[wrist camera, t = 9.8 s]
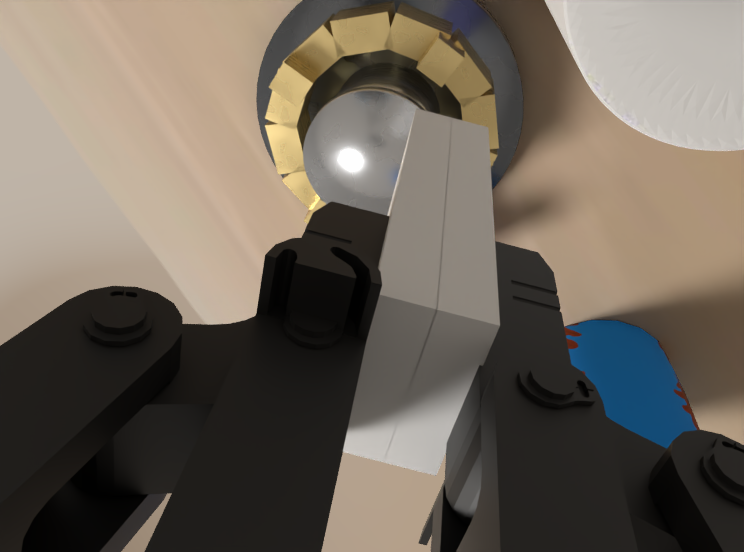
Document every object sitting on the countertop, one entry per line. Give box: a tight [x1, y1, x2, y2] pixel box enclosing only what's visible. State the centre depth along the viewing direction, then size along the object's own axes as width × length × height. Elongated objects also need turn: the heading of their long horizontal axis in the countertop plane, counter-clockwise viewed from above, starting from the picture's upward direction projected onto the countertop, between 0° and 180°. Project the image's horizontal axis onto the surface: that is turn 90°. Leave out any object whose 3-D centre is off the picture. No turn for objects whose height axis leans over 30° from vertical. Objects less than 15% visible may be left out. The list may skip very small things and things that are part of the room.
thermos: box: [564, 320, 700, 448], centre depth 39 cm, size 11×11×25 cm
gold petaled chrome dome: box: [265, 1, 499, 224], centre depth 38 cm, size 19×13×4 cm
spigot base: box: [257, 0, 523, 215], centre depth 37 cm, size 16×16×8 cm
